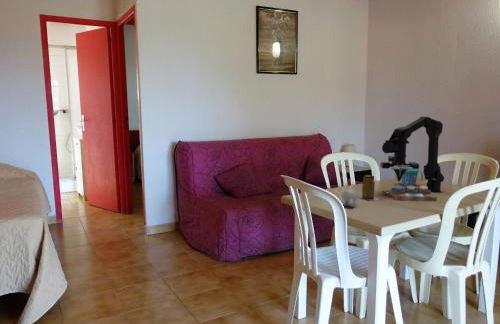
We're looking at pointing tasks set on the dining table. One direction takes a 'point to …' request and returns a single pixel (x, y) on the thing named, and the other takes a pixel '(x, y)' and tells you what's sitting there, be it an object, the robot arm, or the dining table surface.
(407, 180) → the snack cup
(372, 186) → the condiment
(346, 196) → the round bodied animal figurine
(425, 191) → the console
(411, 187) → the sage button
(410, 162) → the robot arm
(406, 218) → the dining table surface
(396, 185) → the slate blue button
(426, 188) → the terracotta button
